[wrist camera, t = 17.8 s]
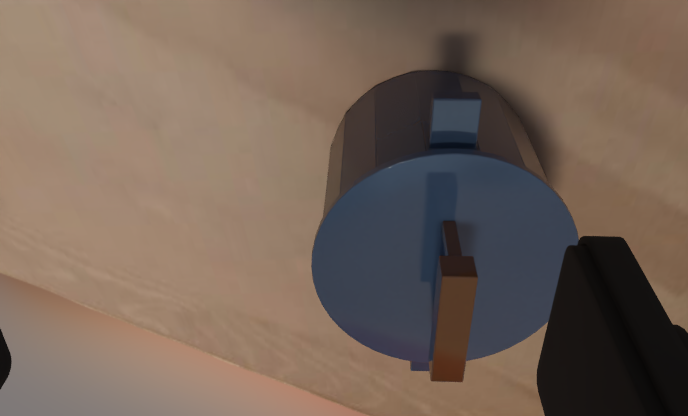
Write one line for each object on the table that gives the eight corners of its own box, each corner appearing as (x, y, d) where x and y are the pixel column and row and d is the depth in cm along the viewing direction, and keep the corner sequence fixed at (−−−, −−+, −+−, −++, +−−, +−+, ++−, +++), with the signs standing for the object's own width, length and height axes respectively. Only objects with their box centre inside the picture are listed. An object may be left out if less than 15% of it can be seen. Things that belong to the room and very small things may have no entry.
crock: (547, 30, 40) (603, 107, 30) (505, 269, 51) (537, 382, 41) (329, 27, 40) (317, 103, 31) (332, 265, 51) (323, 377, 41)
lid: (600, 144, 32) (642, 211, 27) (549, 352, 40) (574, 433, 35) (309, 139, 33) (298, 204, 28) (315, 346, 41) (308, 426, 36)
